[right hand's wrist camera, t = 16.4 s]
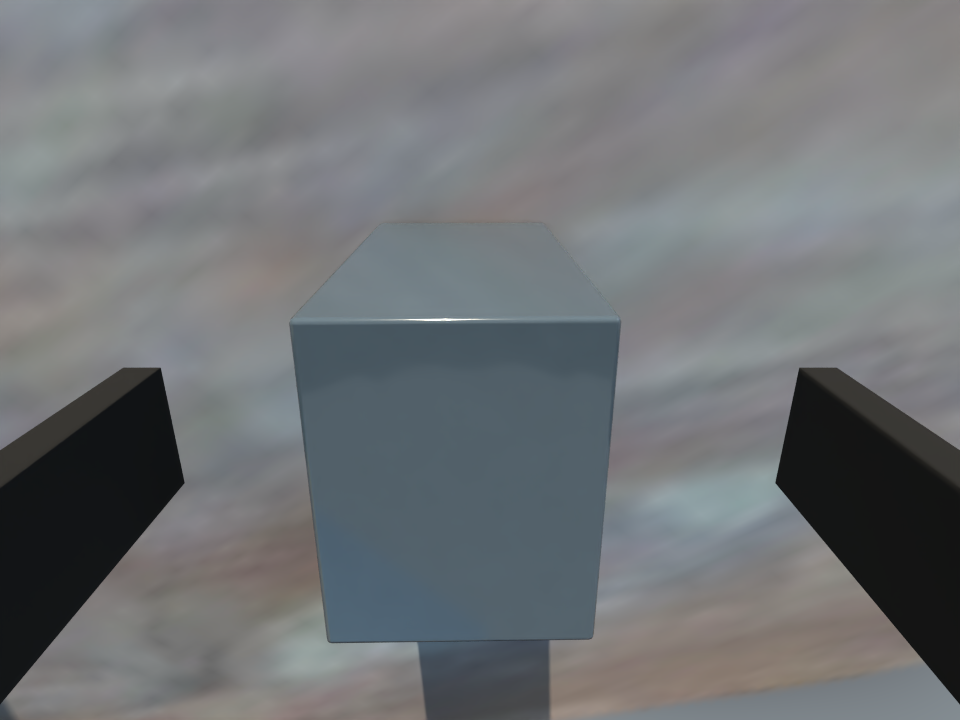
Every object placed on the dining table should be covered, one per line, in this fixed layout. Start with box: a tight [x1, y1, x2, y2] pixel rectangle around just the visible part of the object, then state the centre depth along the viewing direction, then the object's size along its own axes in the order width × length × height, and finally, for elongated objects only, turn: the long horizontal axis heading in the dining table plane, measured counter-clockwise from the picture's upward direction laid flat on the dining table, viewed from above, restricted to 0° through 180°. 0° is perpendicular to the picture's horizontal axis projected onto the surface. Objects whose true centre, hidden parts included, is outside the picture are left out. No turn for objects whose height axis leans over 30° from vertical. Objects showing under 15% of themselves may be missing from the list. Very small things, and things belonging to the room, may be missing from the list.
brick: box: [289, 223, 621, 643], centre depth 15 cm, size 6×5×10 cm
